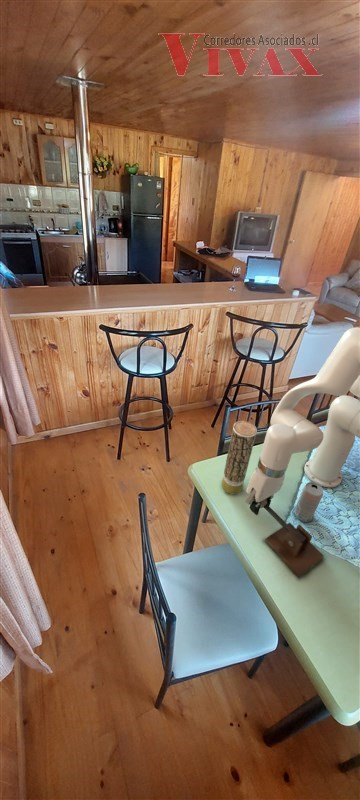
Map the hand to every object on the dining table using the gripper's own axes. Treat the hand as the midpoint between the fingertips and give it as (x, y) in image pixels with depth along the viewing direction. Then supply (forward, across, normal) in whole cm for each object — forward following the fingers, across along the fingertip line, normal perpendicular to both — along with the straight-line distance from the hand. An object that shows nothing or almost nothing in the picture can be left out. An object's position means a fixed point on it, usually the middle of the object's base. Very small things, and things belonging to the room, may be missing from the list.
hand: (258, 507), depth 99 cm
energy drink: (+3, -12, +8) cm, 15 cm away
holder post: (-1, 0, +7) cm, 7 cm away
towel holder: (+3, 0, +14) cm, 14 cm away
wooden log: (+3, 0, -12) cm, 12 cm away
